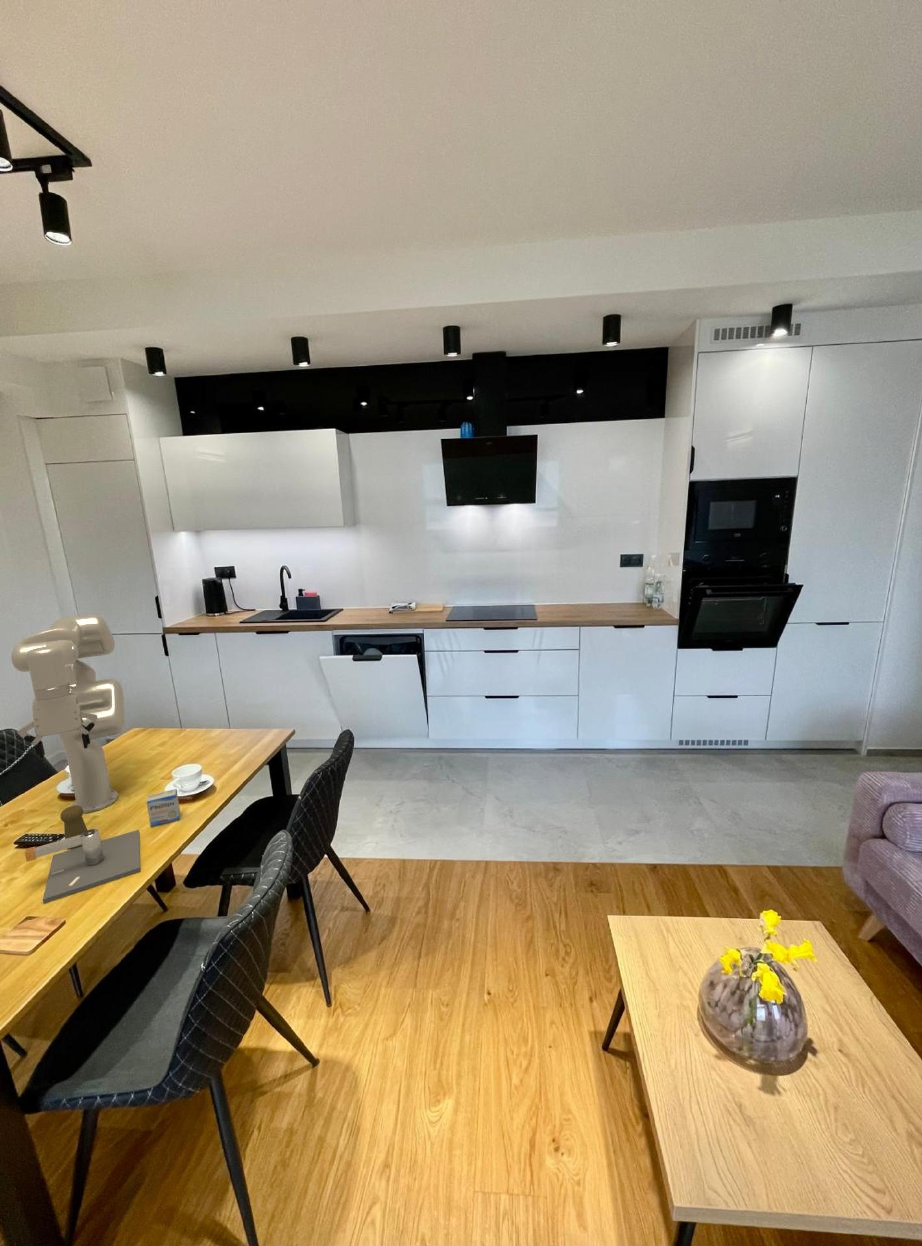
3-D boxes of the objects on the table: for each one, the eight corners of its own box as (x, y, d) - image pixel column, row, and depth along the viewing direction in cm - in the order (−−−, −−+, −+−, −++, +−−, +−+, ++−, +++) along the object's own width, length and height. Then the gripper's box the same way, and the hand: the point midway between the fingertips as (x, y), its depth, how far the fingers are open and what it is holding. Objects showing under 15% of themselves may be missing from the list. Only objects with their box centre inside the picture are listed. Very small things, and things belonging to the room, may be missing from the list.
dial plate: (54, 858, 140) (53, 854, 140) (139, 833, 151) (138, 828, 150) (43, 903, 124) (42, 898, 124) (140, 871, 134) (139, 866, 134)
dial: (104, 853, 140) (98, 825, 138) (103, 861, 136) (98, 833, 135) (33, 875, 132) (26, 846, 130) (30, 884, 129) (23, 854, 127)
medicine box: (150, 828, 153) (145, 802, 151) (151, 820, 157) (147, 795, 155) (180, 820, 157) (176, 794, 155) (180, 813, 161) (176, 787, 159)
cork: (77, 850, 144) (69, 815, 141) (59, 848, 145) (51, 813, 143) (96, 837, 149) (89, 803, 147) (79, 835, 151) (71, 801, 148)
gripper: (92, 682, 145) (103, 739, 149) (13, 695, 136) (26, 755, 140) (91, 689, 139) (102, 747, 142) (7, 703, 130) (21, 765, 133)
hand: (64, 751), depth 141 cm, fingers open, 9 cm apart
